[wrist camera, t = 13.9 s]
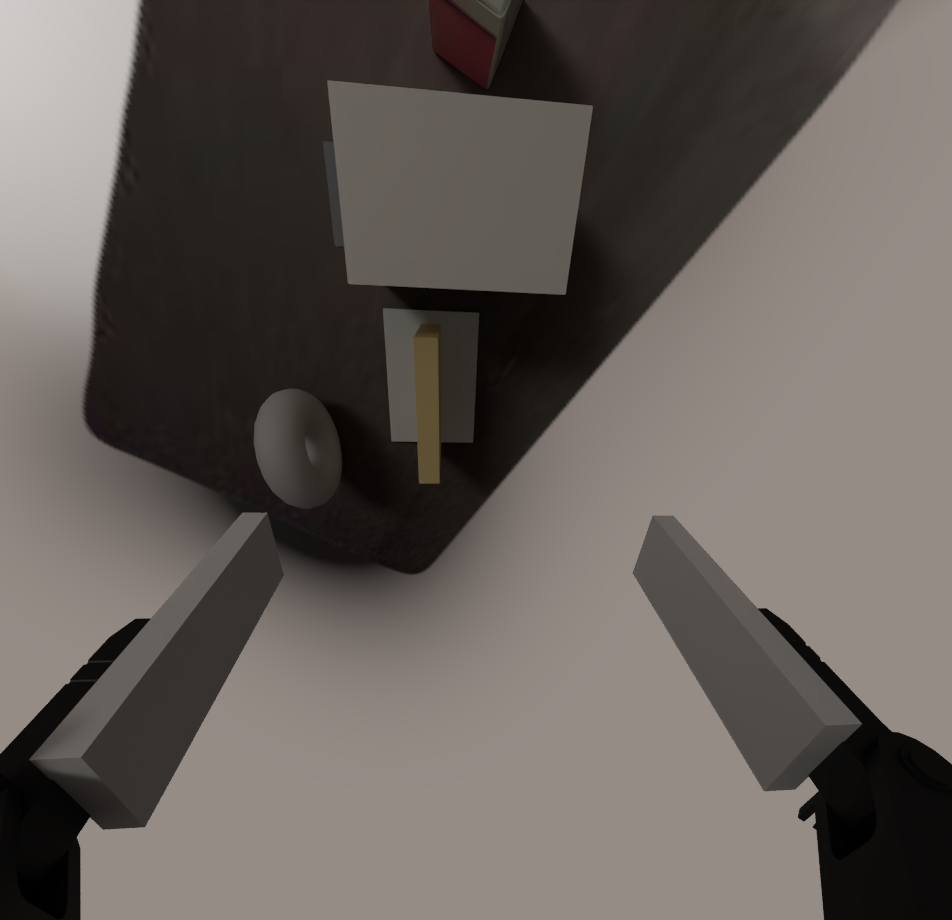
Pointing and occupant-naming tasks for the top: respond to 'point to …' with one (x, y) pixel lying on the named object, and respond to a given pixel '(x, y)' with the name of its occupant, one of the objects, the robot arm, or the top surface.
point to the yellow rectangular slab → (428, 400)
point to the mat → (455, 371)
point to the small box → (472, 34)
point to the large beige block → (454, 187)
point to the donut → (298, 448)
